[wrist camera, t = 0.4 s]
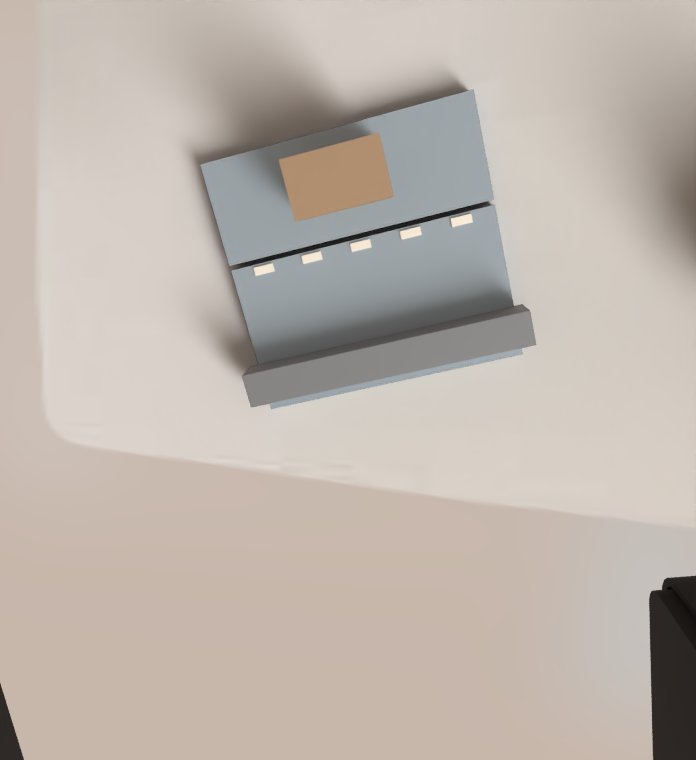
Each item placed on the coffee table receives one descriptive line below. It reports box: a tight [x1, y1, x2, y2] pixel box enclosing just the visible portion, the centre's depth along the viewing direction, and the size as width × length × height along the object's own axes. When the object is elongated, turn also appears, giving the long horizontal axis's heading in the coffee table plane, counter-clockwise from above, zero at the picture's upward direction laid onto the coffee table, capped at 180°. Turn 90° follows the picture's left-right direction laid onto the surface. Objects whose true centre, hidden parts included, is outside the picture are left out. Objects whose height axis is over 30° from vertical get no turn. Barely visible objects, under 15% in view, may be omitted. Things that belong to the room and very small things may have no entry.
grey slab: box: [200, 89, 494, 266], centre depth 35 cm, size 6×16×7 cm, turn 104°
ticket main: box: [231, 205, 536, 409], centre depth 39 cm, size 9×17×4 cm, turn 104°
